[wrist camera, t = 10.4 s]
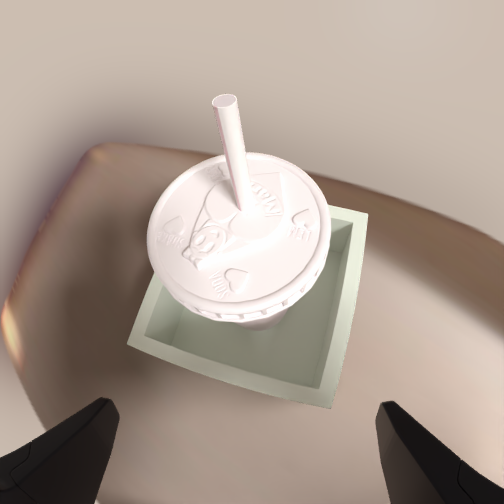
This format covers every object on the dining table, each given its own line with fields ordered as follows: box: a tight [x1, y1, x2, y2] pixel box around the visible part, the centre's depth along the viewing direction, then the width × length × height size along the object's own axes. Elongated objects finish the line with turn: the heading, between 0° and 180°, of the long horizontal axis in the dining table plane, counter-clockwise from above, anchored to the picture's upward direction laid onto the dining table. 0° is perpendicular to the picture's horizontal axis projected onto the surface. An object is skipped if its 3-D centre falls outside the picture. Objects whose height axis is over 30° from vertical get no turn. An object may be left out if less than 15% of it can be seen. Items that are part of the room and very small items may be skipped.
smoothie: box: [147, 94, 331, 331], centre depth 12 cm, size 6×6×14 cm
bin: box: [127, 205, 368, 409], centre depth 17 cm, size 11×11×4 cm
